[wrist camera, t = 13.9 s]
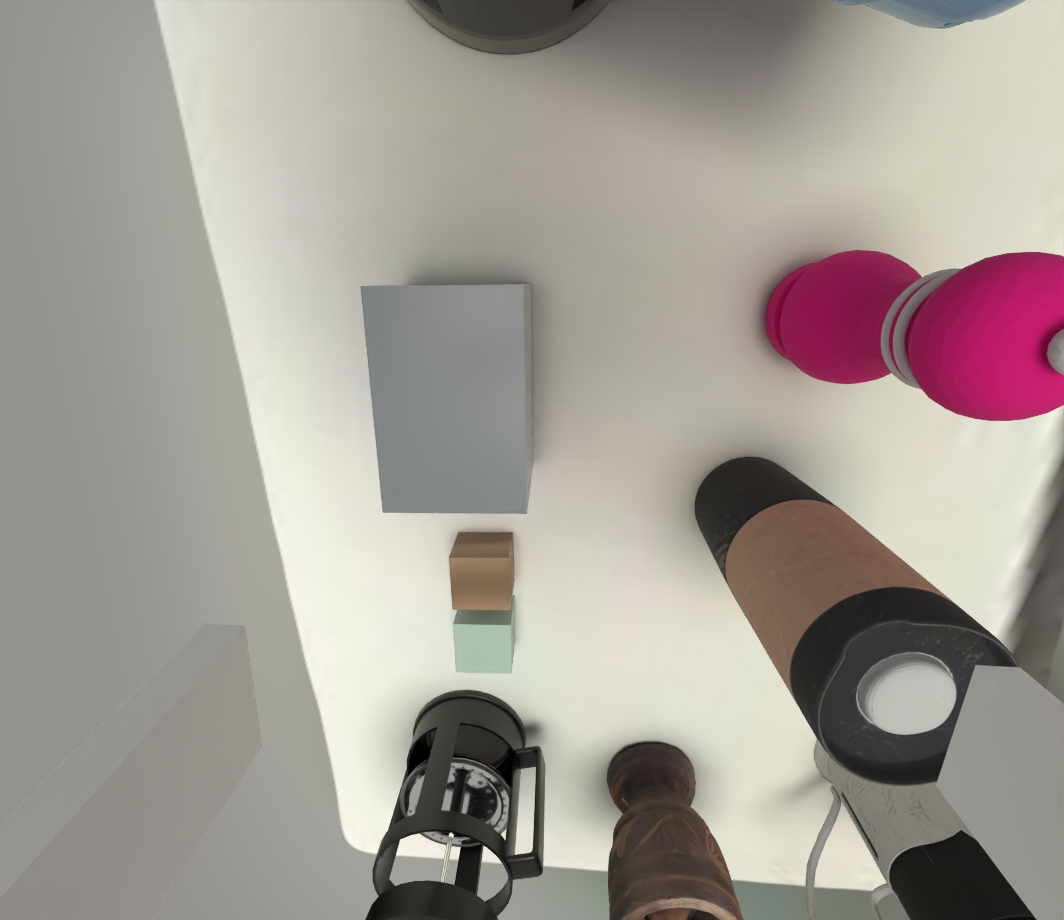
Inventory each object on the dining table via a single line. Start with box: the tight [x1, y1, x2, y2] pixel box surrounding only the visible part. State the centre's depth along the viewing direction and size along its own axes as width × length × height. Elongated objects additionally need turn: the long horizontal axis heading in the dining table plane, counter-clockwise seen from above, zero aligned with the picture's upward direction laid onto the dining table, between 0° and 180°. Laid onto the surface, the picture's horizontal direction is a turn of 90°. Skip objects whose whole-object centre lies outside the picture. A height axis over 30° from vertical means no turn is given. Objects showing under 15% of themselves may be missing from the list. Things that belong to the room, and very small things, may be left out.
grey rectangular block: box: [361, 284, 533, 514], centre depth 33 cm, size 12×8×9 cm, turn 0°
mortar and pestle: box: [607, 744, 743, 920], centre depth 38 cm, size 12×9×20 cm
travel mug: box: [695, 457, 1019, 786], centre depth 30 cm, size 8×8×20 cm
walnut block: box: [449, 532, 514, 610], centre depth 40 cm, size 4×4×4 cm
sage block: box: [453, 595, 515, 673], centre depth 42 cm, size 4×4×4 cm
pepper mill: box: [766, 250, 1064, 421], centre depth 26 cm, size 7×7×20 cm
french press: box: [365, 691, 545, 920], centre depth 36 cm, size 12×9×23 cm
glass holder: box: [806, 739, 1037, 920], centre depth 39 cm, size 9×14×15 cm, turn 125°
